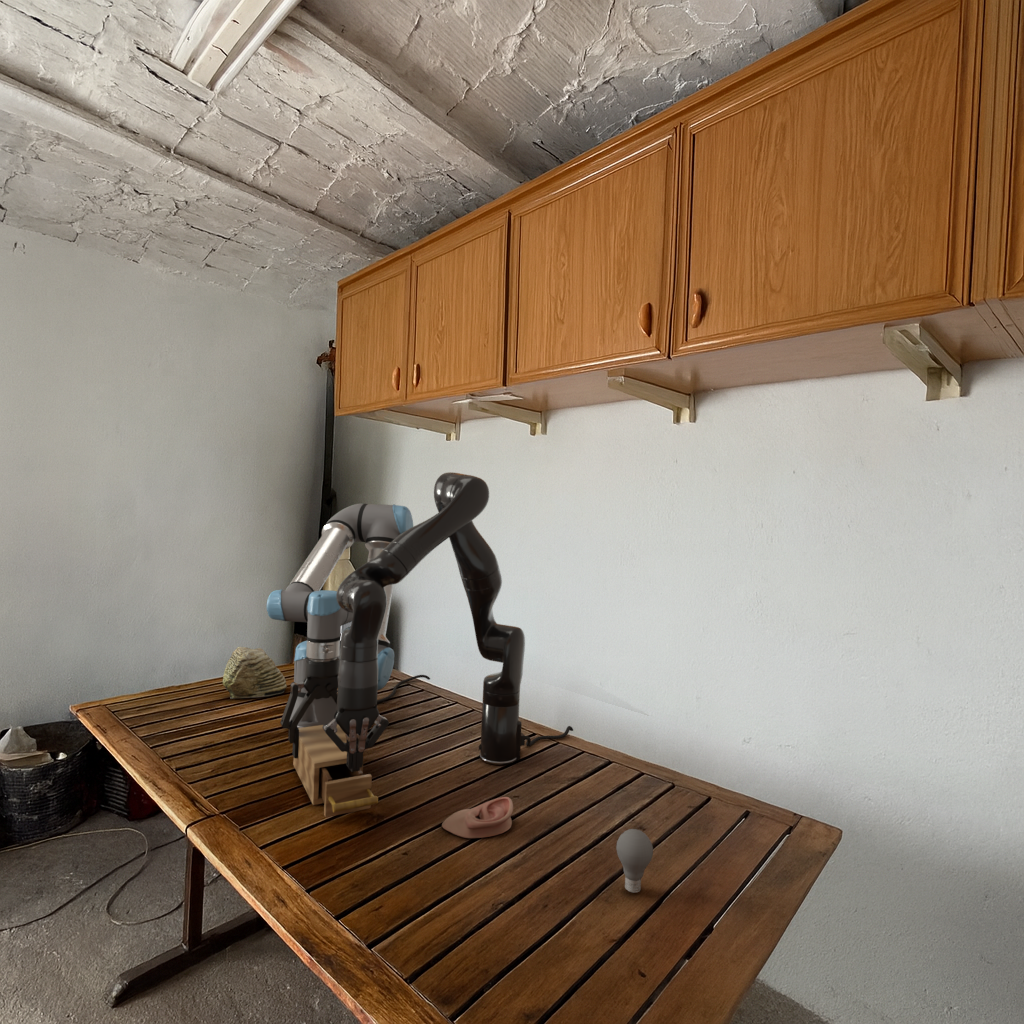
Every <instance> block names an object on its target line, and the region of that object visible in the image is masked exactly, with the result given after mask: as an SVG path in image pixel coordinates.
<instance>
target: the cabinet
mask: <svg viewBox="0 0 1024 1024" xmlns="http://www.w3.org/2000/svg"><path fill="white" fill-rule="evenodd" d="M298 729H299V745H298V758H294V757H293V761H292V766H293V768H294V769H295V771H296V773H297V776H298V777H299V779H300V782H301V783H302V786H303V788H304V789H305V792H306V793H307V796H308V799H309V800H310V802H311V804H312V806H317V805H321V804H324V801H323V799H322V797H321V795H320V794H319V768H321V767H327V766H333V765H339V764H345V763H346V762H347V752H346V751H344V752H342V751H341V750H340V749H339V748H338V747H337V746H336V744H335V743H334V742H333V741H332V740H331V739H330V737H329V736H328V735H327V734H326V733H325V731H324V730H323V725H318V726H310V727H303V728H298ZM337 729H338V730H337V732H336V734H337V735H338V737H339V738H340V739H341V740H342V741H343V742H345V743H346V736H345V733H344V732H343V730H342V729H341V728H340V726H339V725H338V724H337ZM360 769H361V771H362V772H363V773H364V765H363V766H362V767H361V768H360Z"/></svg>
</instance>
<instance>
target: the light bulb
mask: <svg viewBox="0 0 1024 1024" xmlns="http://www.w3.org/2000/svg"><path fill="white" fill-rule="evenodd" d="M615 849H616V854H617V857H618V859H619V861H620V863H621V865H622V867H623V873H624V874H623V875H624V876H625V878H624V888H625V890H627V891H628V892H630V893H634V894H635V893H639V892H640V891H641V889H642V887H641V886H642V879H643V877H644V875H645V871H646V868H647V867H648V866H649V864H650V863H651V861H652V859H653V855H654V847H653V843H652V841H651V838H649V836H648V835H647V834H646V833H645V832H643V831H642V830H641V829H636V828H629V829H627V830H625V831H623V832H622V833H621V834H620V835H619V837H618V839H617V841H616V847H615Z"/></svg>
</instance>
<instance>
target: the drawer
mask: <svg viewBox="0 0 1024 1024" xmlns="http://www.w3.org/2000/svg"><path fill="white" fill-rule="evenodd" d="M372 779H373V776H372V774H371V773H368V774H364V771H363V772H362V771H361V769H360V771H356V772H351V770H350V769H349V768H348V767H347V764H346V763H345V764H339V765H333V766H327V767H321V768H319V794H320V795H321V797H322V799H323V801H324V803H323V804H324V805H323V815H324V817H325V818H330V817H334V816H339V815H344V814H349V813H354V812H359V811H363V810H364V811H365V810H368V809H372V806H373V805H377V804H379V797H378V795H374V793H373V792H372V782H373V781H372Z"/></svg>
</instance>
